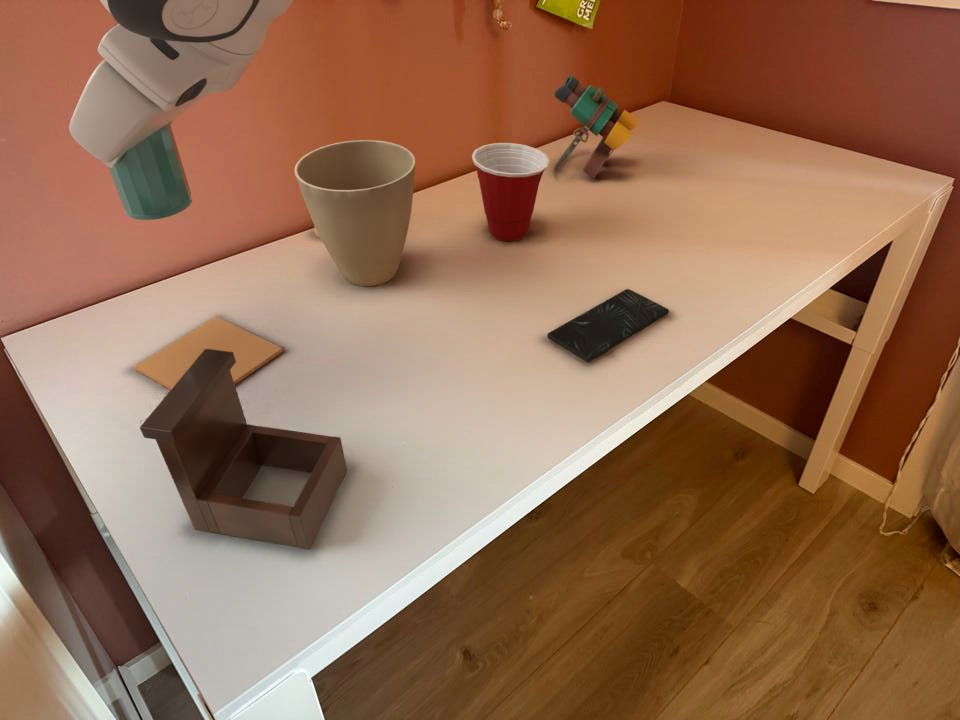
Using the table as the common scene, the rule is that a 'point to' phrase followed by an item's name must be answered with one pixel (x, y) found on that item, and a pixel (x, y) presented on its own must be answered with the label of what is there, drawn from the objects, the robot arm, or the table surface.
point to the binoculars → (595, 122)
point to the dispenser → (239, 459)
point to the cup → (152, 178)
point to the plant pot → (360, 205)
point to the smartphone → (607, 325)
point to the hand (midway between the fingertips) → (132, 143)
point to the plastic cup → (509, 186)
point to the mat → (214, 336)
